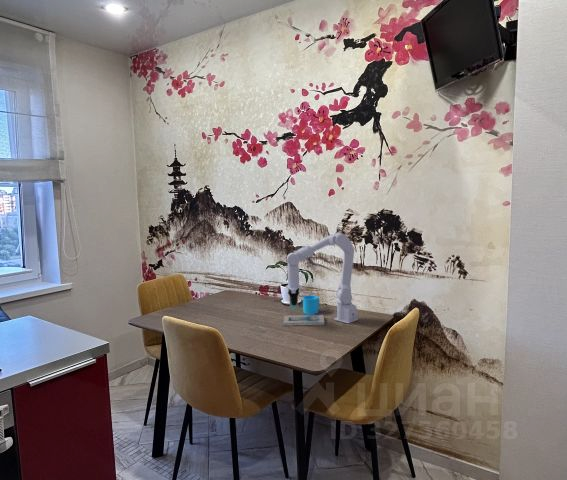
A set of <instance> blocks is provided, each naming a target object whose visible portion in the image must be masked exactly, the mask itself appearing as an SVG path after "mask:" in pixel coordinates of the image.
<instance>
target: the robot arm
mask: <svg viewBox="0 0 567 480" xmlns="http://www.w3.org/2000/svg"><path fill="white" fill-rule="evenodd" d="M335 245H336V246H337V247H339V248H340V249H341V251H343V260H342V267H341V277H340V282H339V286H338V288H337V290H336V297H337V298H338V299H337V300H336V311H337V312H336V316H337V317H334V318H333V320H334V321H338V322H341V323H345V324H351V323H353V322H355V321H358V320H359V319H358V318H357V317H358V312H357V311H358V309H357V306H356V305H355V303H354V304H353V302H352V300H353V295H352V287H351V282H352V276H353V275H352V273H353V265H354V257H355V248H354V246H353V244H352V242H351V239H350V238H349V237H348V236H347V235H346V234H344V233H342V232H340V231H337V232H334V233H333V234H329V235H328V236H326V237H324V238H323V239H321V240H318V242H315V243H314V244H312V245H302V247H301V248H299V249H297V250H294V251H293V252H290V253H289V254H287V256H286V261H287V269H286V270H287V285H285V289H288V291H287V294H288V295H289V298H290V299H291V303H292V305H296V304H297V298H298V299H299V295H300V290H301V289H300V288H301V285H300V268H299V263H300V262H302V261H304V260H306V259H309V258H311V257H312V256H313V254H314V253H315V252H316V251H319V250H321V249H323V248H325V247H327V246H333V247H335ZM290 299H289V300H290Z"/></svg>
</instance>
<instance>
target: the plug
mask: <svg viewBox="0 0 567 480" xmlns="http://www.w3.org/2000/svg"><path fill="white" fill-rule="evenodd" d="M291 310H293V311H296V310H297V311H298V310H299V297H298V298H297V304H296V305H292V303H291V299H290V297H289V311H291Z"/></svg>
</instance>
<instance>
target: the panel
mask: <svg viewBox="0 0 567 480" xmlns="http://www.w3.org/2000/svg"><path fill="white" fill-rule="evenodd" d="M324 317H325V316H324V314H317V315H316V314H306V315H305V314H304V315H284V317H283V326H284V327H285V326H288V327H289V326H290V327H291V326H294V327H295V326H296V327H297V326H298V327H299V326H325V318H324Z"/></svg>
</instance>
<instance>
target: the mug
mask: <svg viewBox="0 0 567 480" xmlns="http://www.w3.org/2000/svg"><path fill="white" fill-rule="evenodd" d="M302 306H303V310H302V311H303V313H304V314H305V313H306V315H316V314H318V313H319V306H320V298H319V297H318V296H317V295H311V294H310V295H304V296H303V297H302Z"/></svg>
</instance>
